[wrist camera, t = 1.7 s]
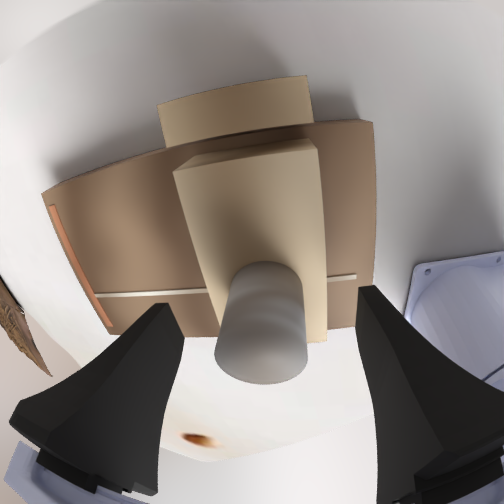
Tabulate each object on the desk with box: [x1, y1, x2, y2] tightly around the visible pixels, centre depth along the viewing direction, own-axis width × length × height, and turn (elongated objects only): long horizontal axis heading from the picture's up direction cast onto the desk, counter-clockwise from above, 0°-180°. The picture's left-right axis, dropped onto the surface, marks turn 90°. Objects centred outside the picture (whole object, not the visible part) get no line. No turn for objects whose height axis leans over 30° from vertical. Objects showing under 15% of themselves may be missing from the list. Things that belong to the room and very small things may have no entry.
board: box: [41, 119, 376, 337], centre depth 16 cm, size 19×12×2 cm, turn 100°
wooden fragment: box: [0, 279, 53, 377], centre depth 25 cm, size 26×11×1 cm, turn 175°
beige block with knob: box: [157, 75, 327, 384], centre depth 11 cm, size 6×12×8 cm, turn 10°
